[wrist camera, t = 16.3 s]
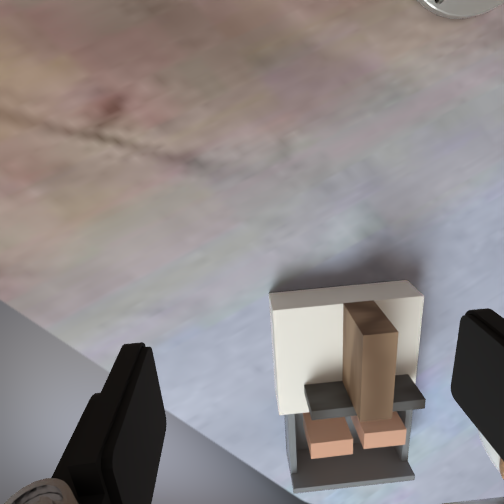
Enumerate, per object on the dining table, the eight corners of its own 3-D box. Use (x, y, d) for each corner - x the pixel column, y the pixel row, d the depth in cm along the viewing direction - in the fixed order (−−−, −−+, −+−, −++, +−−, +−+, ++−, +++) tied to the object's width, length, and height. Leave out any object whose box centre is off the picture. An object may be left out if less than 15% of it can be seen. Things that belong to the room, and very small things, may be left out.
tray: (398, 378, 47) (421, 413, 42) (393, 439, 51) (414, 480, 45) (283, 390, 47) (290, 428, 41) (286, 451, 50) (293, 493, 45)
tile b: (353, 438, 43) (352, 454, 44) (340, 406, 47) (340, 421, 48) (310, 443, 43) (311, 458, 44) (302, 411, 47) (303, 425, 48)
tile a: (406, 429, 43) (405, 444, 44) (389, 398, 47) (387, 412, 48) (364, 433, 43) (363, 449, 43) (351, 402, 47) (350, 416, 48)
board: (406, 279, 42) (424, 295, 38) (398, 378, 47) (413, 401, 43) (268, 293, 42) (272, 310, 38) (275, 391, 47) (279, 415, 43)
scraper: (415, 296, 38) (446, 327, 33) (407, 382, 42) (434, 423, 37) (301, 307, 38) (314, 340, 32) (304, 393, 42) (315, 435, 36)
